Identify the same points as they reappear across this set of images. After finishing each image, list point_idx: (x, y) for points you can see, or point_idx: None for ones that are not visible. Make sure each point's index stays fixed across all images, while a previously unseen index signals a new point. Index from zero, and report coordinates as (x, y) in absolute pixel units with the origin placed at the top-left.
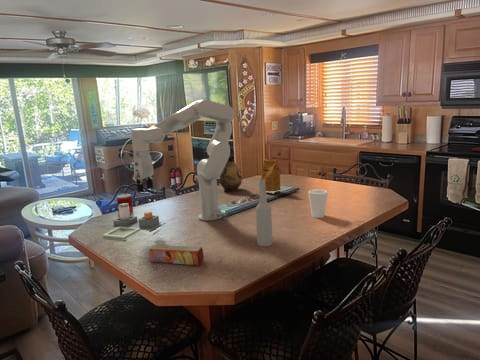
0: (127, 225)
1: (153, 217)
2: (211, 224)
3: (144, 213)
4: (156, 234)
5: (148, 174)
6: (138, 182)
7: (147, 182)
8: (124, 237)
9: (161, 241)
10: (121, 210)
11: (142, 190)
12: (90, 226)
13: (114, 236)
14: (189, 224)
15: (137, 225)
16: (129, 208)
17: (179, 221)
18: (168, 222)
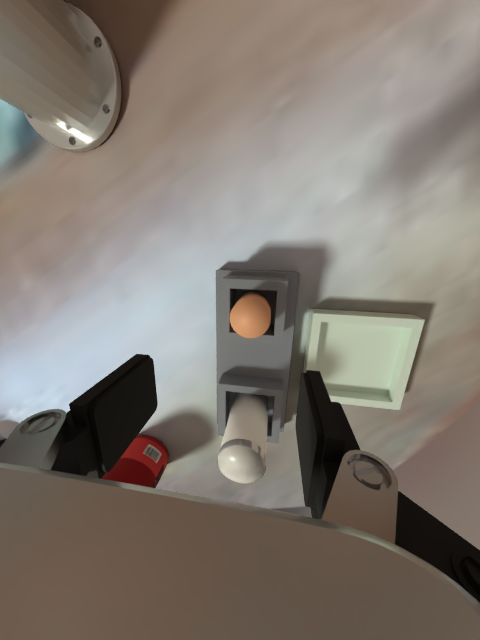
0: (281, 380)
1: (248, 288)
2: (152, 12)
3: (264, 330)
4: (322, 230)
5: (90, 587)
6: (433, 522)
7: (120, 444)
8: (420, 318)
9: (406, 151)
10: (266, 445)
11: (321, 384)
12: (276, 492)
13: (411, 362)
14: (182, 144)
15: (267, 348)
16: (140, 454)
17: (161, 218)
18: (183, 260)
